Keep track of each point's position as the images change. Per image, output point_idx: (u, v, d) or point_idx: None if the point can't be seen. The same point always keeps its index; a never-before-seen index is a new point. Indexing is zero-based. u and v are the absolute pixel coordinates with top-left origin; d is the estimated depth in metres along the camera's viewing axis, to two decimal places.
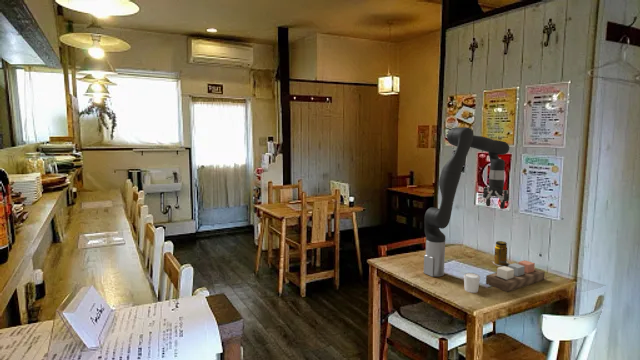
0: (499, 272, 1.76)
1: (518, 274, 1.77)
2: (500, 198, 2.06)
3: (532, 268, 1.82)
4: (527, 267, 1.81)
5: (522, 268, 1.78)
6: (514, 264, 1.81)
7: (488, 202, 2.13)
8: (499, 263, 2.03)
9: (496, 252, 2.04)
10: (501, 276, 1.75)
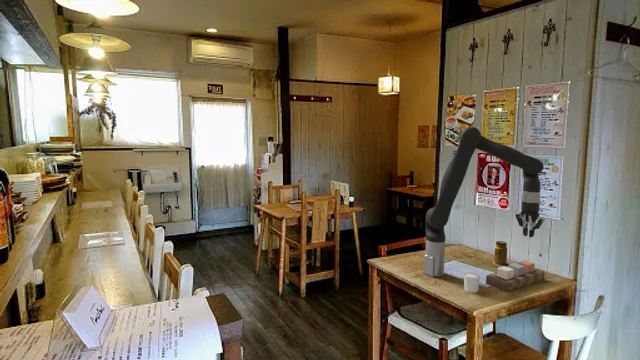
0: (499, 272, 1.76)
1: (518, 274, 1.77)
2: (531, 225, 1.80)
3: (532, 268, 1.82)
4: (527, 267, 1.81)
5: (522, 268, 1.78)
6: (514, 264, 1.81)
7: (525, 231, 1.83)
8: (499, 263, 2.03)
9: (496, 252, 2.04)
10: (501, 276, 1.75)
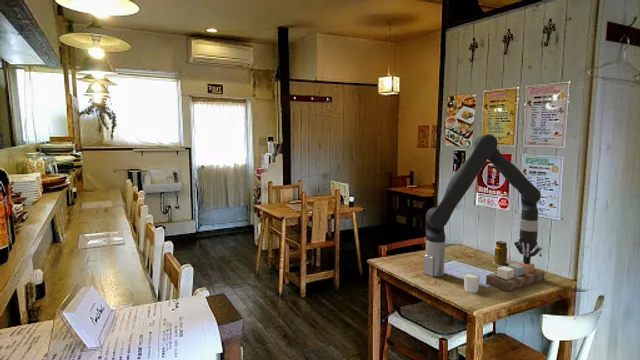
0: (499, 272, 1.76)
1: (518, 274, 1.77)
2: (527, 252, 1.82)
3: (532, 269, 1.83)
4: (527, 268, 1.81)
5: (522, 268, 1.78)
6: (514, 264, 1.81)
7: None
8: (499, 263, 2.03)
9: (496, 252, 2.04)
10: (501, 276, 1.75)
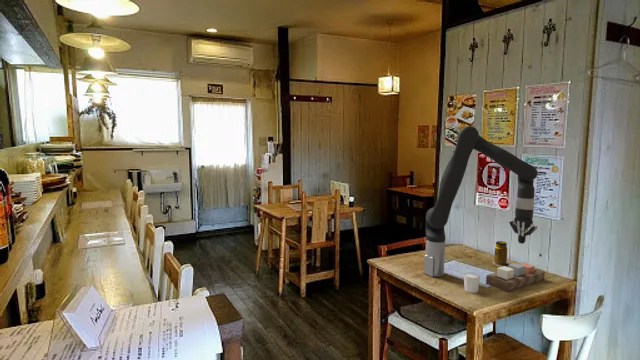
0: (499, 272, 1.76)
1: (518, 274, 1.77)
2: (523, 231, 1.79)
3: (532, 271, 1.83)
4: (527, 270, 1.81)
5: (522, 268, 1.78)
6: (514, 264, 1.81)
7: None
8: (499, 263, 2.03)
9: (496, 252, 2.04)
10: (501, 276, 1.75)
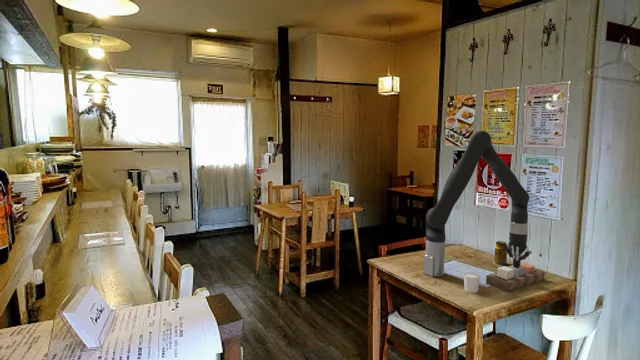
0: (499, 272, 1.76)
1: (518, 276, 1.78)
2: (517, 256, 1.78)
3: (532, 271, 1.83)
4: (527, 270, 1.81)
5: (522, 270, 1.79)
6: None
7: None
8: (499, 263, 2.03)
9: (496, 252, 2.04)
10: (501, 276, 1.75)
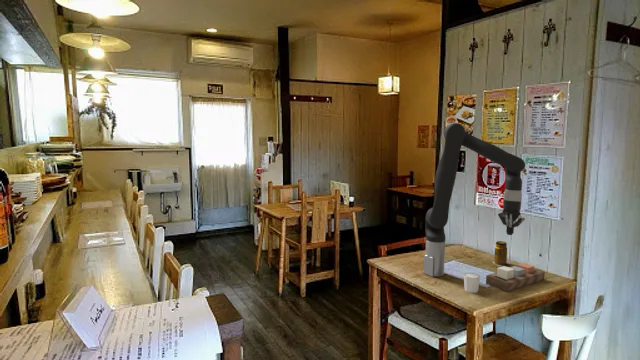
0: (499, 272, 1.76)
1: None
2: (510, 223, 1.81)
3: (532, 271, 1.83)
4: (527, 270, 1.81)
5: (522, 271, 1.79)
6: (514, 267, 1.82)
7: None
8: (499, 263, 2.03)
9: (496, 252, 2.04)
10: (501, 276, 1.75)
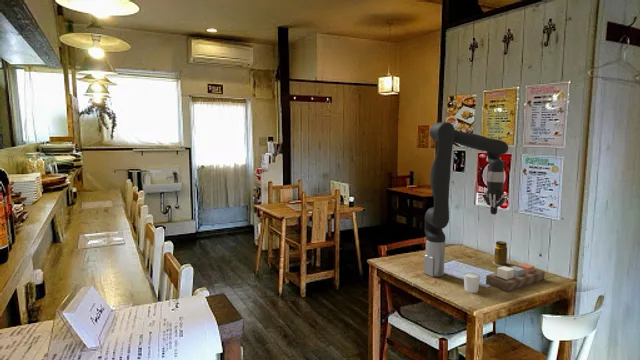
0: (499, 272, 1.76)
1: None
2: (494, 203, 1.92)
3: (532, 271, 1.83)
4: (527, 270, 1.81)
5: (522, 271, 1.79)
6: (514, 267, 1.82)
7: None
8: (499, 263, 2.03)
9: (496, 252, 2.04)
10: (501, 276, 1.75)
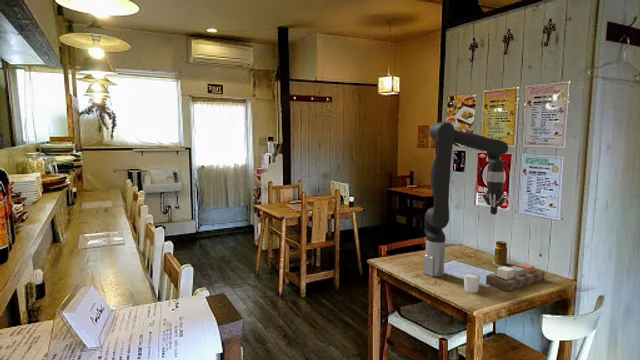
0: (499, 272, 1.76)
1: None
2: (494, 203, 1.92)
3: (532, 271, 1.83)
4: (527, 270, 1.81)
5: (522, 271, 1.79)
6: (514, 267, 1.82)
7: None
8: (499, 263, 2.03)
9: (496, 252, 2.04)
10: (501, 276, 1.75)
